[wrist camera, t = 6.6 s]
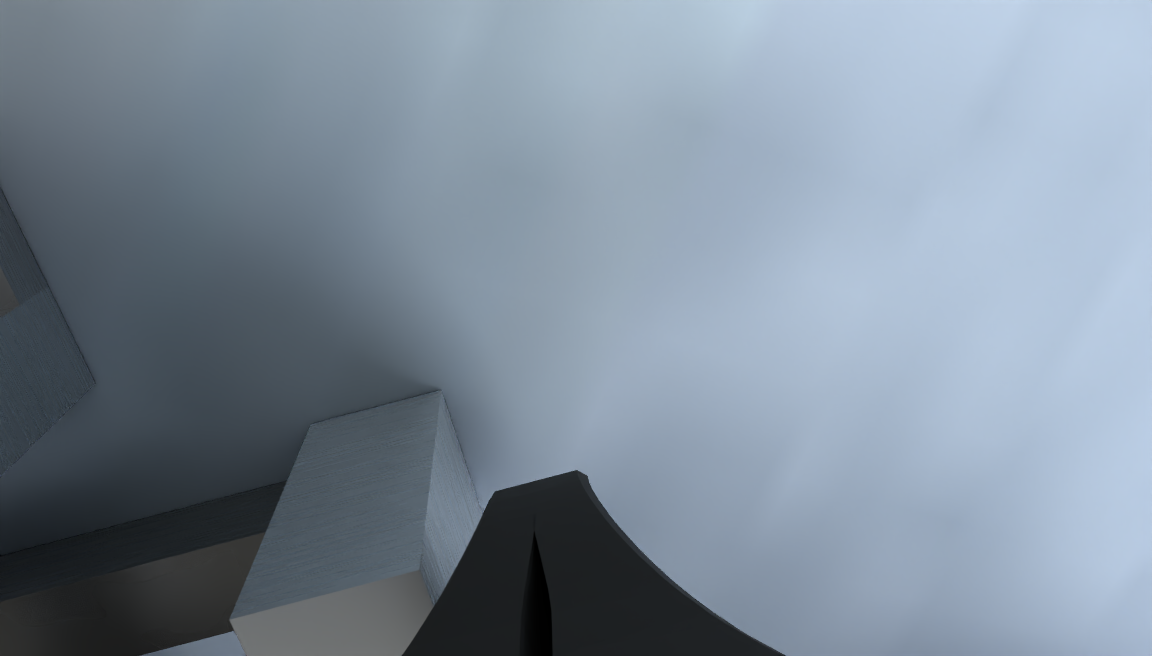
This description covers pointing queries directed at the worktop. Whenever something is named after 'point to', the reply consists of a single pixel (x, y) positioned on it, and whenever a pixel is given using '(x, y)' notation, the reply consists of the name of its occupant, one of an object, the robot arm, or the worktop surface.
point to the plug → (268, 554)
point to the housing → (31, 349)
